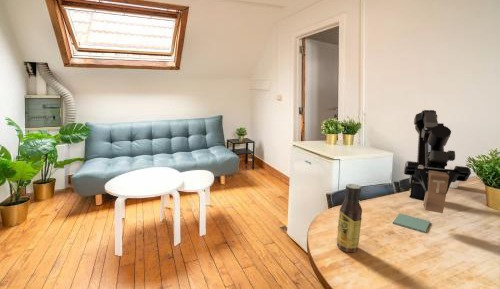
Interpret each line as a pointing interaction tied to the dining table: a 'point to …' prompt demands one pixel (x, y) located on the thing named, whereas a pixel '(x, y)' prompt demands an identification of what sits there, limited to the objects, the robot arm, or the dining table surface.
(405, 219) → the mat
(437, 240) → the dining table surface
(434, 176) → the letter block
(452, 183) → the white cup
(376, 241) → the dining table surface
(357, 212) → the sauce bottle
